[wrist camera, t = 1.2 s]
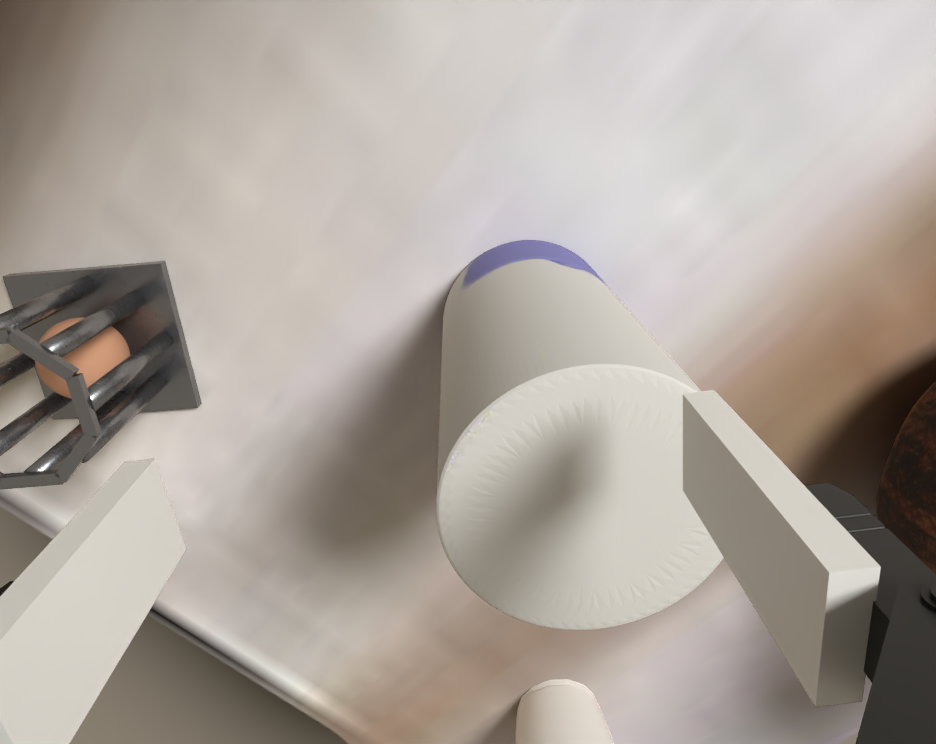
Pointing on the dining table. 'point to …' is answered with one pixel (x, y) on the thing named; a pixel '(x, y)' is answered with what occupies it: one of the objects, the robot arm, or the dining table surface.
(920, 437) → the jug
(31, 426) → the grey barred cage
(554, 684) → the foam cup
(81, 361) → the tube ball
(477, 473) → the container
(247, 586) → the dining table surface
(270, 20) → the dining table surface
